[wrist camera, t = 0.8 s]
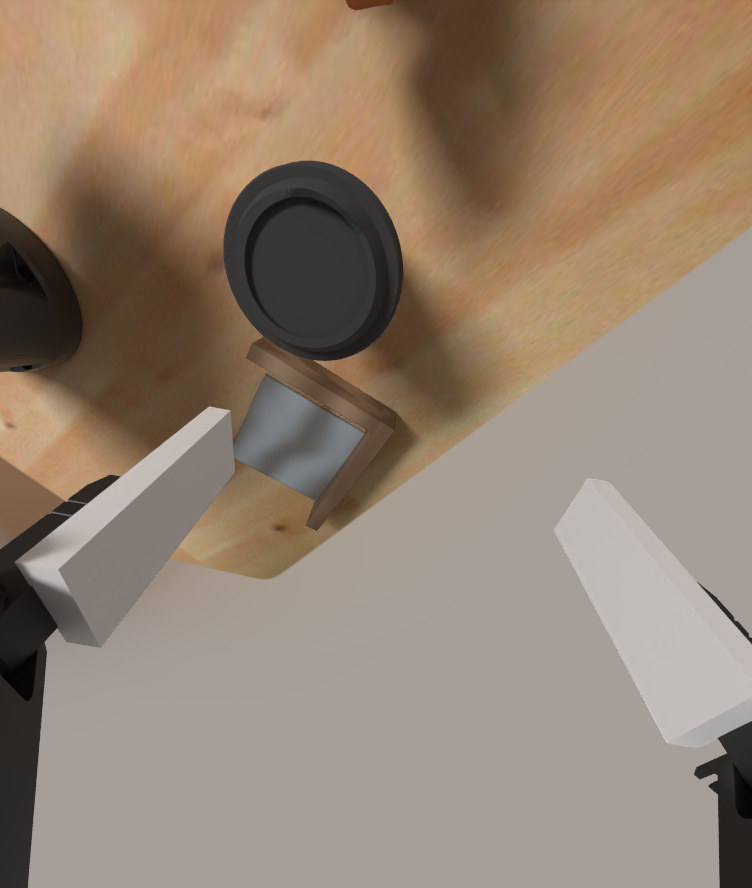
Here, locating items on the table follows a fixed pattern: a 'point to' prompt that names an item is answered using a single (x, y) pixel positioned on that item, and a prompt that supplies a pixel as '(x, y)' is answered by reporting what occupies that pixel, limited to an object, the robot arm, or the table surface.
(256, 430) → the arena
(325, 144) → the table surface
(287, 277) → the coffee cup
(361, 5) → the mug
